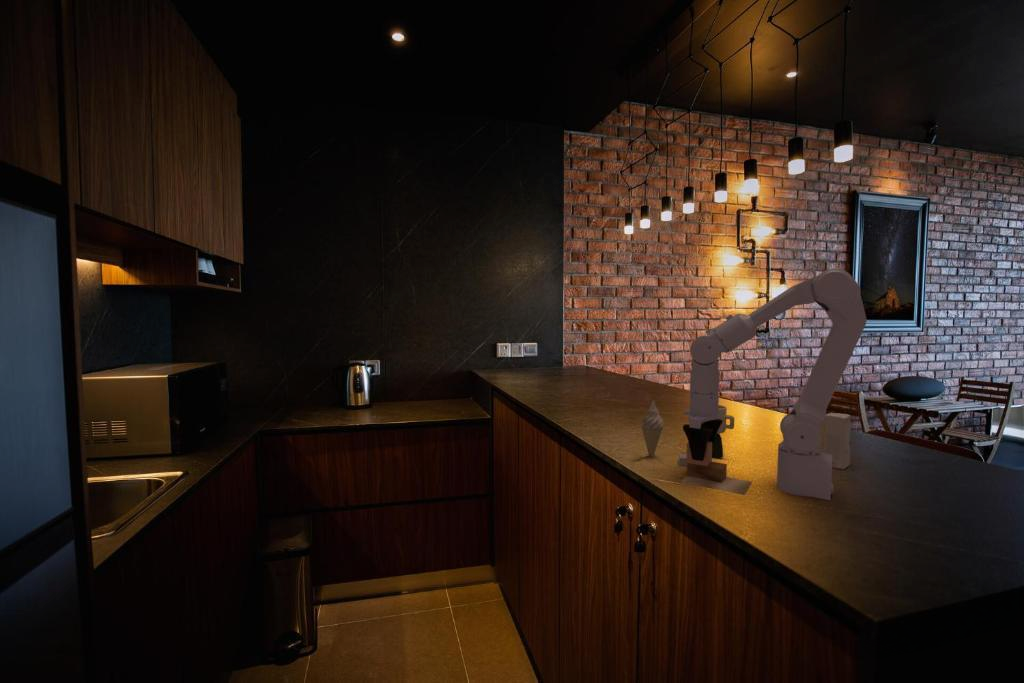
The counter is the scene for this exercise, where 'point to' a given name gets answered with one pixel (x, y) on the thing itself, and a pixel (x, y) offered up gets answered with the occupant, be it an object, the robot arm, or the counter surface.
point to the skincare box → (837, 439)
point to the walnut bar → (708, 471)
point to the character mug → (721, 431)
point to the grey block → (682, 459)
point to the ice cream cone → (652, 428)
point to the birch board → (721, 484)
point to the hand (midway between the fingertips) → (702, 455)
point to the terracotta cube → (707, 457)
